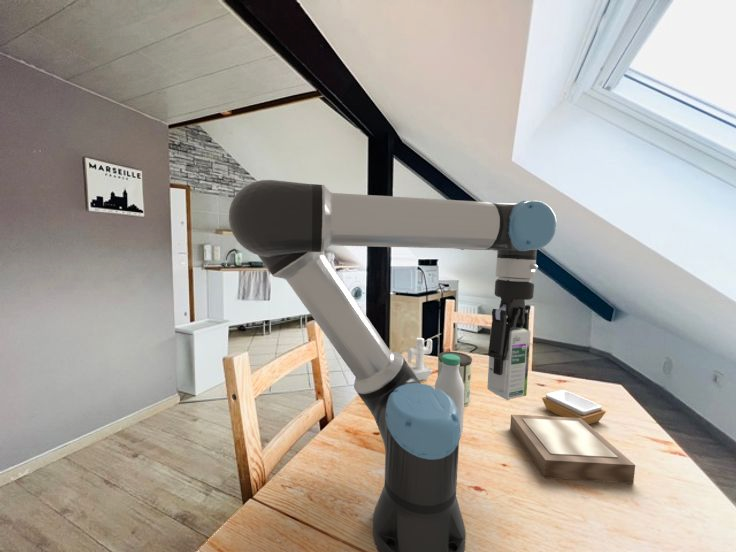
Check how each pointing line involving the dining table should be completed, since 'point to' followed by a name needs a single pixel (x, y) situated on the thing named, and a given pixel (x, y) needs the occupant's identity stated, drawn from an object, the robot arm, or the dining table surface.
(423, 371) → the figurine
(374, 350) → the robot arm
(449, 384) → the milk bottle
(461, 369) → the coffee can
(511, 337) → the syrup box
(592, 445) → the pedestal
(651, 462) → the dining table surface
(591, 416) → the soap dish
